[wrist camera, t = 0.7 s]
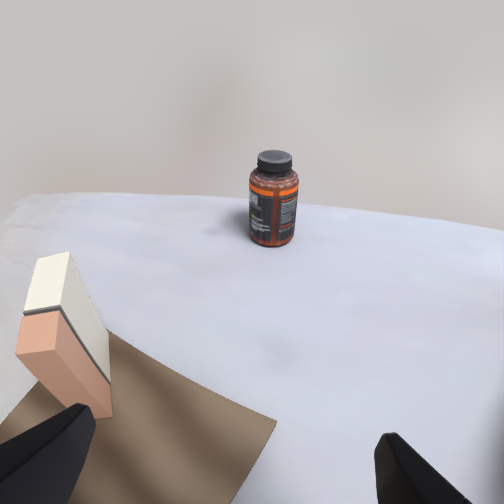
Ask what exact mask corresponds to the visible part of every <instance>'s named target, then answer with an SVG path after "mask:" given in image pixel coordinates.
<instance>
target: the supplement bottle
mask: <svg viewBox="0 0 504 504" xmlns="http://www.w3.org/2000/svg"><path fill="white" fill-rule="evenodd" d="M257 165H258V167H257V168H256V169H254V170H253V171H252V172H251V175H250V179H249V229H250V236H251V237H252V239H253V240H254V241H256V242H257V243H259V244H261V245H265V246H280V245H284V244H286V243H288V242H289V241H290V240H291V239H292V238H293V235H294V229H295V218H296V207H297V196H298V183H299V182H298V181H299V180H298V175H297V174H296V172H295V171H293V170H292V169H291V167H292V156H291V155H290V154H289V153H287V152H284V151H278V150H268V151H263V152H261V153H259V155H258V163H257Z"/></svg>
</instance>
